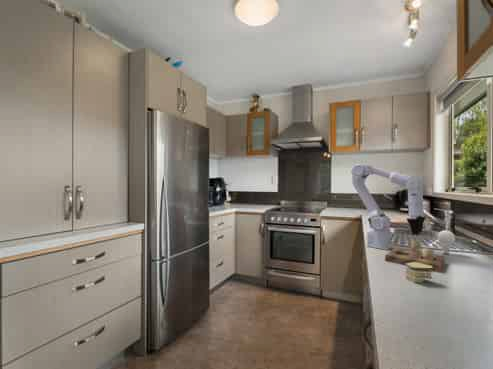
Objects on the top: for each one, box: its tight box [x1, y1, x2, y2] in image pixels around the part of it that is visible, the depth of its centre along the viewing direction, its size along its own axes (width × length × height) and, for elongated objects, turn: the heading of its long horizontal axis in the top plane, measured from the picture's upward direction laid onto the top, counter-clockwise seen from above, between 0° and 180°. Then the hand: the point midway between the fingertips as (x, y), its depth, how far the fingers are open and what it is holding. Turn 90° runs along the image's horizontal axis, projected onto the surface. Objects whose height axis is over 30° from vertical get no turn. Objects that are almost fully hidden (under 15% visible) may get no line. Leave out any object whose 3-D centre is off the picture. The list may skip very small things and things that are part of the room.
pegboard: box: [384, 247, 446, 273], centre depth 104 cm, size 18×16×2 cm
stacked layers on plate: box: [403, 262, 434, 283], centre depth 83 cm, size 10×9×6 cm
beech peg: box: [410, 239, 422, 252], centre depth 115 cm, size 4×4×6 cm
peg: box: [422, 248, 435, 261], centre depth 101 cm, size 4×4×6 cm
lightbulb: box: [437, 229, 456, 255], centre depth 116 cm, size 6×6×11 cm
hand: (417, 233), depth 115 cm, fingers open, 7 cm apart
